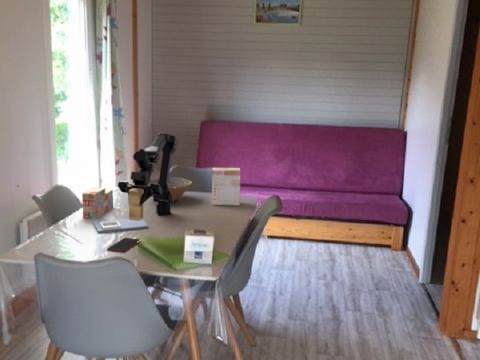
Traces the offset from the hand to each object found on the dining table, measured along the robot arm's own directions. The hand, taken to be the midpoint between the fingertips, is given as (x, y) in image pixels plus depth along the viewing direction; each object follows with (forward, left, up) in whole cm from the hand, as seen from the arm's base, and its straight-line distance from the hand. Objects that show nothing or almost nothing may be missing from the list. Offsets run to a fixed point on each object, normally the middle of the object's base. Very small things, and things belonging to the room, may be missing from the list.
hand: (134, 204), depth 205 cm
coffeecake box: (-58, -35, -14) cm, 69 cm away
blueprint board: (+3, -15, -13) cm, 20 cm away
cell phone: (+7, +11, -14) cm, 19 cm away
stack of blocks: (+8, -40, -14) cm, 43 cm away
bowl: (-32, -54, -14) cm, 64 cm away
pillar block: (-1, -1, -7) cm, 7 cm away
